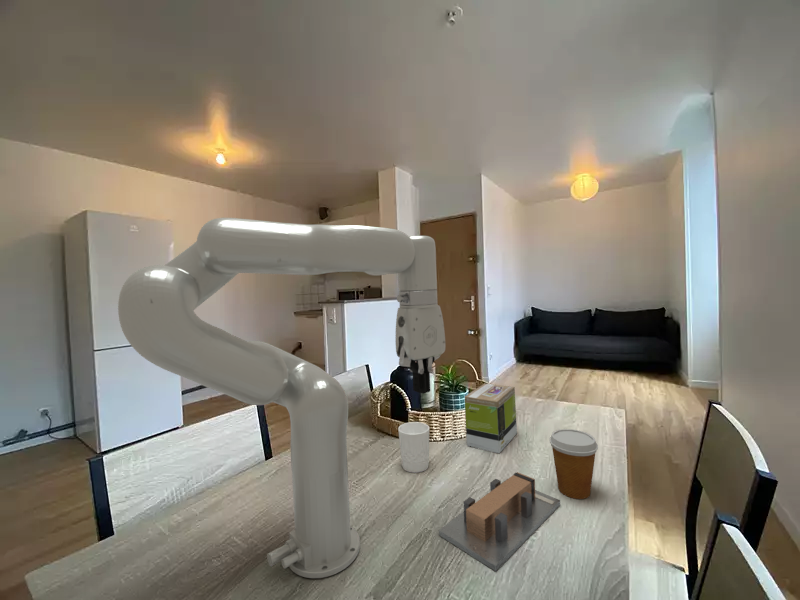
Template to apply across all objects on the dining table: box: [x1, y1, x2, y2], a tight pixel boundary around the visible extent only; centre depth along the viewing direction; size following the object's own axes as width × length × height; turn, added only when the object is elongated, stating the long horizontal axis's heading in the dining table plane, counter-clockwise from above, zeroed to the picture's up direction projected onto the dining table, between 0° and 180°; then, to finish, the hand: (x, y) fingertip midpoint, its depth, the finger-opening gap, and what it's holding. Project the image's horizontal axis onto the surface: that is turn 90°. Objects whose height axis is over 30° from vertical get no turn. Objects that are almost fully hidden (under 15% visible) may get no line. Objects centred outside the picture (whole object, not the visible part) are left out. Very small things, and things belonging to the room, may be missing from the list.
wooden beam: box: [466, 472, 536, 542], centre depth 70 cm, size 18×4×4 cm, turn 132°
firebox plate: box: [438, 478, 561, 572], centre depth 70 cm, size 24×12×5 cm, turn 133°
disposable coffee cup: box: [549, 428, 599, 500], centre depth 78 cm, size 10×10×12 cm
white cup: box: [397, 421, 430, 474], centre depth 92 cm, size 8×8×10 cm
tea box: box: [464, 382, 518, 454], centre depth 105 cm, size 15×10×15 cm, turn 144°
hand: (421, 391), depth 72 cm, fingers closed
